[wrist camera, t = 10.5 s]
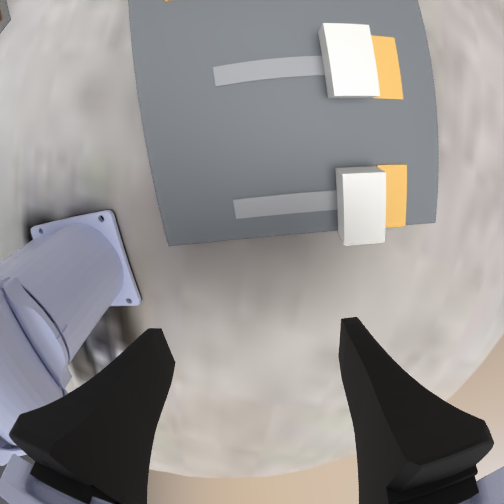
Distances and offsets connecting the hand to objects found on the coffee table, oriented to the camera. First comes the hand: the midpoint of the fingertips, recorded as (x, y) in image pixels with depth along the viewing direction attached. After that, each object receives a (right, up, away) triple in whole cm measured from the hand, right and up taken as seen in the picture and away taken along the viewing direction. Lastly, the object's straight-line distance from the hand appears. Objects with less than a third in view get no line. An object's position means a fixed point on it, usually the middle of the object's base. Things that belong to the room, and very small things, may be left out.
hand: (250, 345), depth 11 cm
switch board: (+2, +14, +3) cm, 15 cm away
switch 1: (+5, +14, +2) cm, 15 cm away
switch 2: (+6, +7, +5) cm, 10 cm away
